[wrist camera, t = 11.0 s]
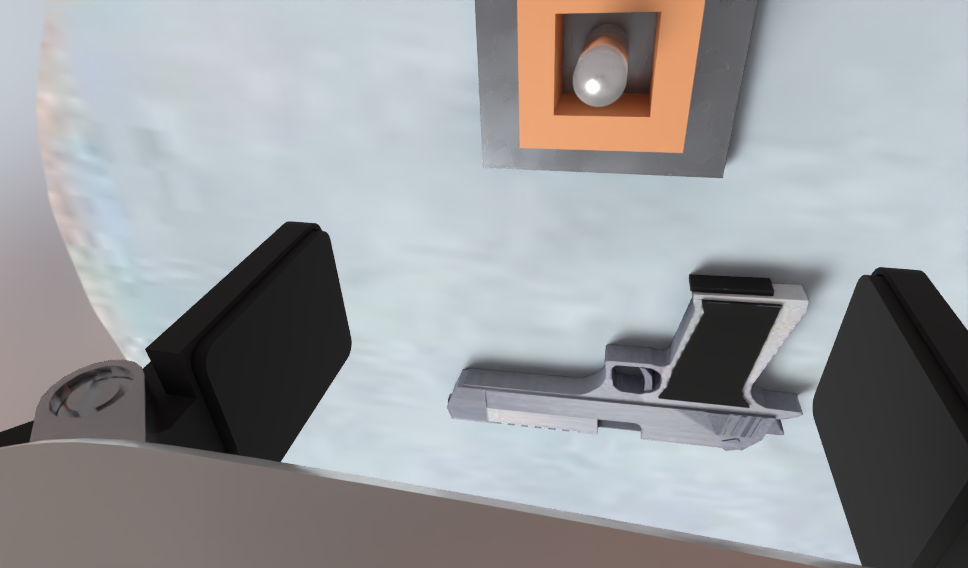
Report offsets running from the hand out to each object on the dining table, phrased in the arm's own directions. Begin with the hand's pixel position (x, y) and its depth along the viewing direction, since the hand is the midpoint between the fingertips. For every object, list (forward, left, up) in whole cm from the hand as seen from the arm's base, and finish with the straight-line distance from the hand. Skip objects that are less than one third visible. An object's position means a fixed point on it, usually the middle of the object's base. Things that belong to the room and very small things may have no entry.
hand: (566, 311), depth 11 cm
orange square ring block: (0, -1, -20) cm, 19 cm away
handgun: (-1, +18, -21) cm, 28 cm away
